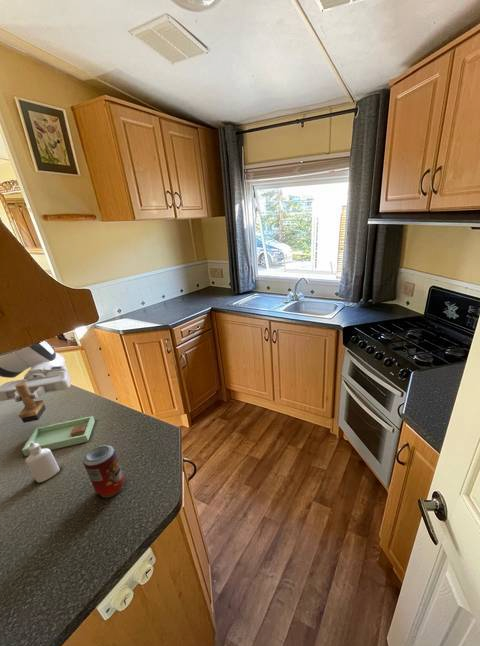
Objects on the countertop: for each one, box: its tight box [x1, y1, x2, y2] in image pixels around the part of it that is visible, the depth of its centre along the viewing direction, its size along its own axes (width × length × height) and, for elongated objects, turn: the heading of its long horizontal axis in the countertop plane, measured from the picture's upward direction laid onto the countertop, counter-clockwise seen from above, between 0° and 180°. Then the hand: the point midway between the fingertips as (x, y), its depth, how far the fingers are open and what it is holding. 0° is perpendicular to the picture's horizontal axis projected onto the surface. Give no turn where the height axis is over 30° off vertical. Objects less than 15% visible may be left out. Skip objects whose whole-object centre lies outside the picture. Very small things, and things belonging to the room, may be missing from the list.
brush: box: [15, 382, 46, 424], centre depth 91 cm, size 4×7×12 cm, turn 19°
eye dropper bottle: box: [25, 441, 61, 483], centre depth 79 cm, size 4×6×12 cm
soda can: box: [82, 444, 125, 498], centre depth 74 cm, size 7×7×12 cm
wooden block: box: [71, 424, 87, 437], centre depth 98 cm, size 4×4×2 cm
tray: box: [21, 415, 96, 457], centre depth 97 cm, size 18×12×2 cm, turn 109°
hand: (25, 398), depth 90 cm, fingers closed on brush, 2 cm apart
